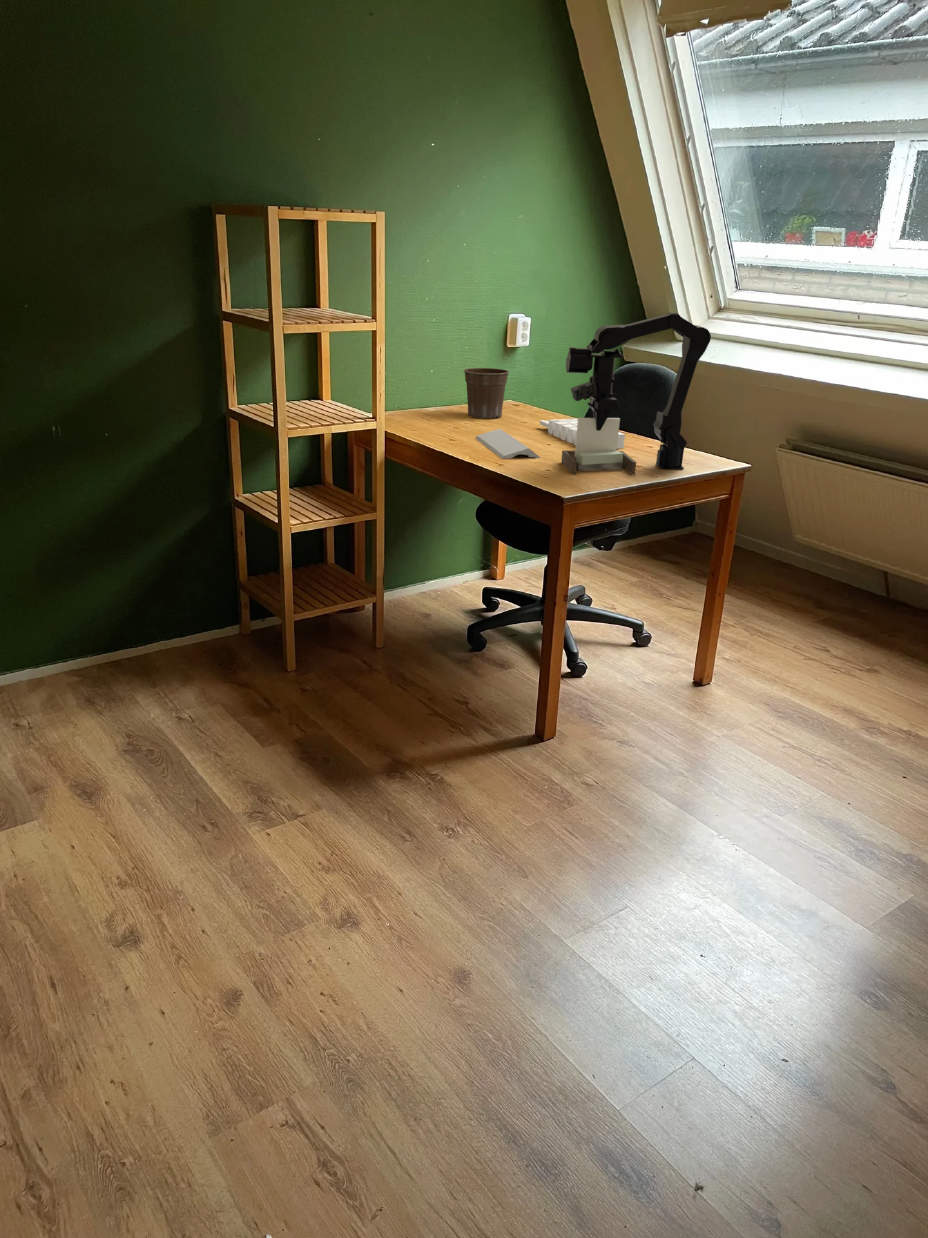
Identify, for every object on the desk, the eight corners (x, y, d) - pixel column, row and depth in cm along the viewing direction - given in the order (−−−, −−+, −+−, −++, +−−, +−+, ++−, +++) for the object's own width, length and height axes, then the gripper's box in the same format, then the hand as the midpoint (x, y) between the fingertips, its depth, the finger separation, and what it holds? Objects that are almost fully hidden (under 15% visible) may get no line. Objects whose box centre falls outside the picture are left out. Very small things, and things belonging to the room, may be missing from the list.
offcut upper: (616, 459, 260) (617, 450, 259) (622, 462, 257) (623, 453, 256) (576, 461, 256) (576, 453, 255) (581, 464, 253) (582, 455, 252)
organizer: (588, 436, 278) (537, 415, 308) (586, 451, 280) (536, 429, 309) (625, 434, 283) (571, 413, 312) (623, 449, 284) (570, 427, 314)
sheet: (615, 456, 261) (619, 418, 257) (616, 457, 260) (619, 418, 256) (574, 456, 260) (577, 417, 255) (575, 456, 259) (578, 418, 255)
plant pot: (458, 411, 333) (459, 366, 326) (501, 411, 336) (503, 367, 329) (466, 420, 318) (468, 373, 312) (511, 420, 321) (513, 373, 315)
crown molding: (474, 439, 291) (475, 428, 290) (510, 439, 294) (511, 428, 293) (502, 461, 265) (503, 449, 264) (541, 460, 269) (542, 448, 267)
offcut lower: (617, 468, 261) (618, 459, 260) (621, 471, 258) (622, 462, 257) (574, 469, 258) (575, 460, 257) (578, 472, 255) (578, 463, 254)
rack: (621, 462, 266) (622, 450, 264) (635, 474, 253) (636, 462, 252) (561, 462, 264) (562, 450, 262) (572, 474, 251) (573, 461, 249)
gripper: (567, 368, 258) (563, 423, 265) (582, 378, 241) (577, 436, 247) (605, 369, 260) (600, 423, 266) (623, 379, 243) (617, 437, 249)
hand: (597, 429), depth 257 cm, fingers closed on sheet, 1 cm apart
